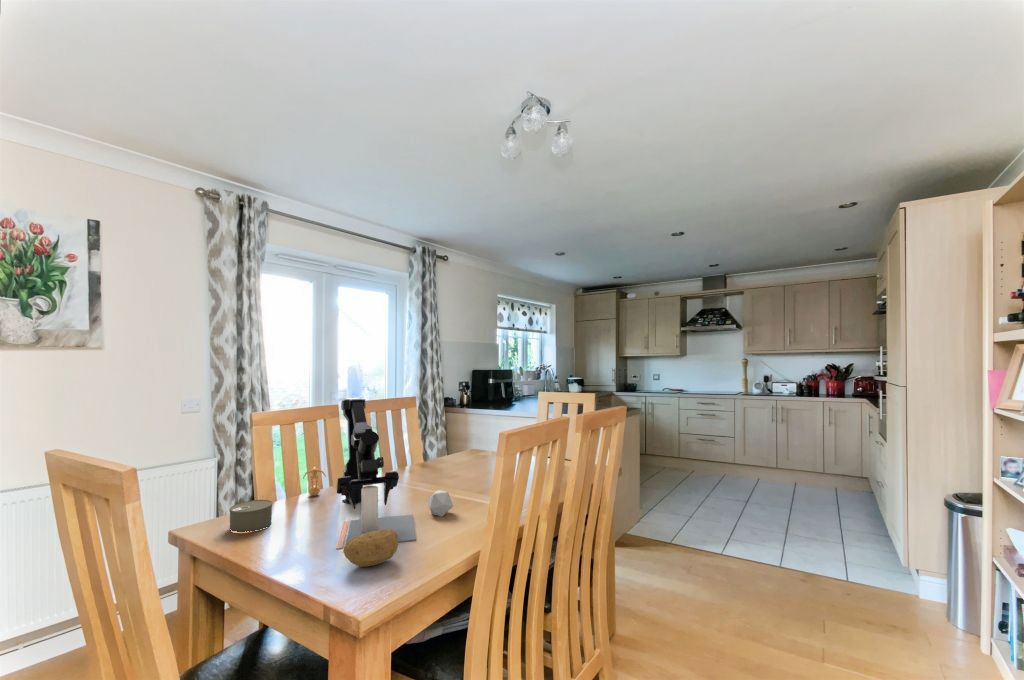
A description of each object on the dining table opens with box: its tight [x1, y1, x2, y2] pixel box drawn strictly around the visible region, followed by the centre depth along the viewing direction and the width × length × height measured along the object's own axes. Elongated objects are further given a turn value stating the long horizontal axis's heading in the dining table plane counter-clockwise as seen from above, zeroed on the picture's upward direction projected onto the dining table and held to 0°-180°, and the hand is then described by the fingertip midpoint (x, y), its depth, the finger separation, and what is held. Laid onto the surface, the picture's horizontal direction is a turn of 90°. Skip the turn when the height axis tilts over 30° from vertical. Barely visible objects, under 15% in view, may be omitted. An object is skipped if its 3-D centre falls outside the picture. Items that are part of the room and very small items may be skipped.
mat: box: [344, 514, 418, 546], centre depth 140 cm, size 20×22×1 cm
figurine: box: [302, 465, 327, 497], centre depth 176 cm, size 8×6×12 cm
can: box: [229, 499, 273, 532], centre depth 144 cm, size 12×12×7 cm
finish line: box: [335, 520, 350, 550], centre depth 137 cm, size 22×2×1 cm, turn 15°
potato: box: [342, 529, 399, 568], centre depth 117 cm, size 10×14×8 cm
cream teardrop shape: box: [360, 485, 379, 533], centre depth 140 cm, size 5×5×13 cm
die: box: [426, 489, 454, 518], centre depth 155 cm, size 8×9×10 cm
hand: (370, 506), depth 138 cm, fingers open, 9 cm apart
